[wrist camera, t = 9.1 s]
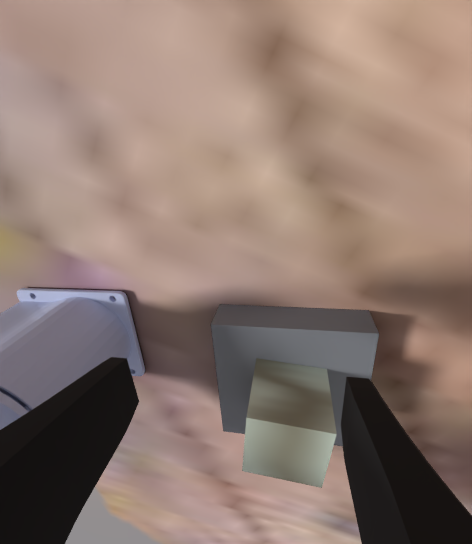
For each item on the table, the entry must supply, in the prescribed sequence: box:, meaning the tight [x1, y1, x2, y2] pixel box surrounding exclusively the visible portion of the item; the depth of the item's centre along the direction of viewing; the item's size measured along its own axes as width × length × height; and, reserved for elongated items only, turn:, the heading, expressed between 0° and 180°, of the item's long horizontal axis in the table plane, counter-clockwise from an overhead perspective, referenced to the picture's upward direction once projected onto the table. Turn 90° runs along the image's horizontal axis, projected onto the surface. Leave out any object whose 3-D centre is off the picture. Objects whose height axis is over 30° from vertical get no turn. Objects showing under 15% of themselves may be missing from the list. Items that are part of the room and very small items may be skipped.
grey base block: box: [211, 304, 379, 446], centre depth 21 cm, size 10×10×3 cm
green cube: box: [242, 358, 337, 488], centre depth 17 cm, size 4×4×4 cm
